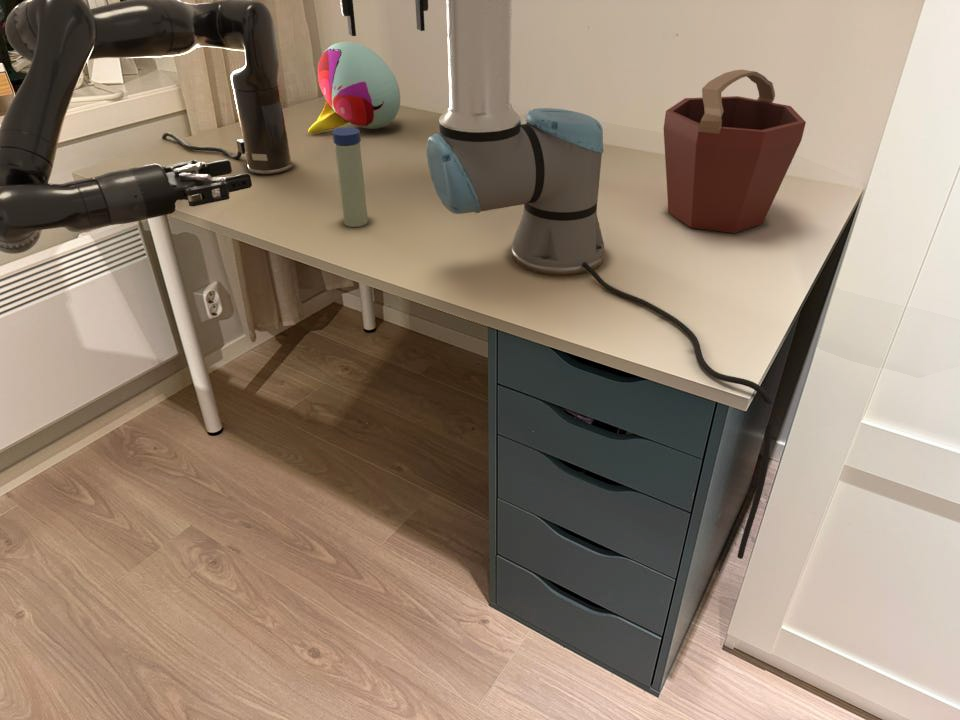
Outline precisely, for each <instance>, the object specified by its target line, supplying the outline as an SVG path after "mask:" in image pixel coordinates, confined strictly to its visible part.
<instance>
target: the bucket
mask: <svg viewBox="0 0 960 720" xmlns="http://www.w3.org/2000/svg"><path fill="white" fill-rule="evenodd" d="M746 77H747V78H748V79H749V80H750V81H751V82H752V83H754V84H755V85H756V88H757V91H758V98H757V99H754V98H750V97H744V96H739V95H736V96H733V95H732V96H731V95H730V96H722V92H724V91H725V90H726V89H727V88H728V87H729V86H730V85H732V84H734V83H735V82H737V81H738V80H740V79H743V78H746ZM701 96H702V97H685V98H683V99H682V100H680V101H679V102H677V103H676V104H674V105H672V106H670V107H669V108H668V109H667V110H665V115H664V122H663V143H664V156H665V157H664V159H665V161H664V162H665V177H666V179H665V180H666V192H667V193H666V194H667V196H666V197H667V212H668V214H670V215H671V216H672V217H674V218H676V219H677V220H679V221H680V222H681V223H683V224H684V225H686V226H687V227H689V228H691V229H698V230H707V231H715V232H721V233H732V234H735V233H739V232H742V231H745V230H749V229H751V228H754V227H757V226H760V225H762V224H764V222H765V219H766V218H767V215H768V213H769V211H770V209H771V207H772V205H773V202H774V201H775V198H776V196H777V195H778V192H779V189H780V187H781V185H782V183H783V181H784V179H785V177H786V175H787V173H788V170H789V168H790V167H791V164H792V162H793V159H794V158H795V155H796V153H797V151H798V150H799V149H798V148H799V147H800V145H801V142H802V139H803V135H804V132H805V128H806V125H807V124H806V120H805V119H804V118H803V117H802V116H801V115H800V114H799V113H798V112H797V111H796V110H795V109H794V108H793V107H792V106H791V105H787V104H781V103H776V102H774V101H775V98H776V92H775V88H774V83H773V82H772V81H771V80H769V79H768V78H767V77H766V76H765V75H763V74H761V73H760V72H758V71H755V70H748V69H735V70H732V71H727V72H724V73H722V74H720V75H717V76H716V77H714V78H713V79H711V80H709V81H708V82H707V83H706V84H705V85H704V86H703V87H702V88H701Z"/></svg>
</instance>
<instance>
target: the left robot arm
mask: <svg viewBox="0 0 960 720" xmlns="http://www.w3.org/2000/svg"><path fill="white" fill-rule="evenodd" d="M4 29H5V35H6V39H7V41H8V43H9V44H10V46H11V48H13V50H14V52H15V53H18V55H20V56H21V57H22V58H24V59H25V60H26V61H29V62H31V63H30V66H29V68H28V71H27V73H26V75H25V77H24V79H23V81H22V83H21V85H20V86H19V88H18V90H17V91H16V93H15V95H14V97H13V99H12V100H11V102H10V104H9V106H8V108H7V110H6V111H5V114H4V116H3V118H2V121H1V123H0V252H2V253H5V254H9V255H15V254H16V255H17V254H22V253H25V252H27V251H29V250H31V249H32V248H33V247H34V246H35V245H36V244H38V242H39V240H40V238H41V235H42V231H43V230H51V229H60V228H65V229H66V230H67V231H69V232H73V233H83V232H87V231H93V230H96V229H101V228H105V227H110V226H115V225H124V224H125V225H126V224H131V223H135V222H140V221H144V220H149V219H153V218H158V217H162V216H166V215H171V214H173V213H174V212H175V211H176V204H177V202H178V201H183V200H184V201H187V202H188V206H189V207H192V208H193V207H199V206H202V205H208V204H212V203H218V202H222V201H223V202H224V201H228V200H229V199H230V193H233V192H239V191H243V190H247V189H251V188H252V186H253V183H252V177H251V175H250V174H249V173H248V172H244V173H239V174H233V175H231V174H232V173H233V172H232V171H233V170H232V164H231V161H230V160H229V159H226V158H225V159H221V160H214V161H209V162H206V163H205V162H204V161H199V162H198V160H196V159H191V160H186V161H182V162H177V163H173V164H169V165H163V166H162V165H160V164H159V163H151V164H145V165H141V166H136V167H130V168H125V169H119V170H115V171H109V172H107V173H104V174H100V175H97V176H93V177H88V178H82V179H77V180H71V181H68V182H63V183H49V182H50V178H51V175H52V171H53V168H54V164H55V159H56V156H57V155H56V154H57V150H58V146H59V141H60V136H61V132H62V129H63V126H64V122H65V118H66V115H67V112H68V109H69V106H70V104H71V102H72V101H71V100H72V98H73V95H74V92H75V90H76V88H77V86H78V83H79V80H80V78H81V75H82V73H83V70H84V69H85V66H86V64H87V62H88V61H91V60H97V59H135V58H136V59H138V58H139V59H140V58H164V57H176V56H181V55H185V54H188V53H190V52H192V51H193V50H195V49H196V48H201V47H203V48H204V47H208V48H217V49H225V50H229V51H237V52H238V51H239V52H244V56H245V65H244V66H243V67H241V68H239V69H236V70H234V71H232V73H231V74H230V81H231V86H232V90H233V95H234V101H235V105H236V110H237V117H238V121H239V126H240V131H241V137H242V138H239V139H236V140H235V142H236V146H237V153H236V154H235V155H233V154H232V153H231V152H229V151H228V150H226V149H224V148H222V147H217V146H198V145H192V144H189V143H187V142H186V141H185V140H184V139H182V138H180V137H178V136H177V135H175V134H174V133H171V132H166V131H165V132H164V133H162V136H161V139H163V140H164V139H167V137H169V138H172V139H173V140H175V141H176V142H179V143H180V144H181V145H182V146H183V147H185V149H188V150H192V151H199V152H218V153H221V154H224V155H225V156H226V157H229V158H230V159H233V160H239V159H240V158H242V155H245V158H246V162H247V170H248V171H249V172H250V173H252V174H255V175H275V174H279V173H283V172H286V171H289V170H290V169H291V168H293V162H292V158H291V153H290V146H289V139H288V134H287V127H286V121H285V115H284V108H283V102H282V96H281V91H280V85H279V70H280V63H279V56H278V55H279V54H278V45H277V35H276V27H275V23H274V19H273V16H272V13H271V11H270V9H269V8H268V7H267V5H266V4H265V3H264V2H261V1H257V0H217V1H211V2H204V3H188V2H184V1H183V0H121V1H116V2H112V3H108V4H105V5H102V6H101V5H100V6H97V7H93V8H90V7H89V5H88V3H86V2H85V1H84V0H23V1H22V2H20V3H18V4H17V5H16V6H14V8H13V9H12V10H11V11H10V13H9V14H8V15H7V18H6V21H5V26H4ZM225 175H229V176H225ZM220 176H225V177H220Z"/></svg>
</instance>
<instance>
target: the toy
mask: <svg viewBox="0 0 960 720" xmlns="http://www.w3.org/2000/svg"><path fill="white" fill-rule="evenodd" d="M317 81H318V85H319V88H320V91H321V93H322V95H323V97H324V99H325V102H324V108H323V109H322V111H321V113H320V114H319V116H318V118H317V119H316V120H315V121H314V123H312V124H311V126H310V127H309V128H308V129H307V132H308V134H318V133H322V132H325V131H329V130H333V129H337V128H340V127H342V126H345V125H347V124H351V125H353V126H356V127H358V128H361V129H366V130H378V129H382V128H384V127H386V126H388V125H390V124H391V123H392V122H393V121H394V120H395V118H396V117H397V115H398V113H399V111H400V107H401V91H400V86H399V84H398V80H397V78H396V76H395V74H394V72H393V71H392V69H391V67H390V66H389V65H388V64H387V62H386V61H385V60H384V59H383V58H382V57H381V56H380V55H379V54H378V53H376V52H375V51H374V50H372V49H370V48H369V47H367V46H365V45H362V44H360V43H357V42H353V41H352V42H351V41H341V42H337V43H336V42H335V43H334V44H332V45H330V46H329V47H327V48H326V49H325V50H324V51H323V52H322V54H321V56H320V58H319V61H318V64H317Z"/></svg>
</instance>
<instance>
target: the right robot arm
mask: <svg viewBox="0 0 960 720" xmlns="http://www.w3.org/2000/svg"><path fill="white" fill-rule="evenodd" d="M414 2H415V22H416V30H418V31H420V32H425V31H426V29H425V27H426V26H425V12H428V10H429V0H414ZM339 4H340V12H341V16H343V17H346V19H347V28H348V29H347V30H348V35H350V36H351V37H357V31H356V20H355V12H354V0H339ZM445 5H446V6H445V7H446V37H447V71H448V73H447V74H448V99H449V100H448V101H449V102H448V103H449V104H448V107H447V108H446V110H445V111H444V112H443V113H441V115H440V117H439V119H438V121H439V123H438V124H439V126H438V127H439V133H433V134H432V135H430V136H429V137H428V138H427V141H426V144H427V145H426V159H427V166H428V170H429V174H430V177H431V181H432V184H433V187H434V189H435V192H436V195H437V196H438V199H439V200H440V202H441V204H442V205H443V206H444V207H445V208H446V210H447V211H448V212H449V213H453V214H456V215H462V214H471V213H474V214H480V213H482V212H487V211H493V210H499V209H504V208H505V209H506V208H509V207H515V206H520V205H523V212H522V215H521V218H520V220H519V224H518V226H517V229H516V232H515V234H514V237H513V240H512V245H511V257H512V259H513V261H514V262H515V263H516V264H517V265H519V267H521V268H524V269H526V270H528V271H530V272H532V273H533V272H534V273H537V274H541V275H547V276H558V277H559V276H560V277H561V276H573V275H574V276H575V275H580V274H584V273H589V274H590V275H591V276H592V277H593V278H594V279H595V280H596V281H597V283H598V284H599V285H600V286H602V288H604V289H605V290H607V291H609V292H610V293H612V294H614V295H616V296H618V297H621V298H623V299H626V300H628V301H632V302H634V303H636V304H639V305H640V306H641V305H642V306H643V307H645V308H647V309H649V310H651V311H653V312H655V313H656V314H658V315H659V316H662V317H663V318H665V319H667V320H668V321H670V322H671V323H673V324H674V325H676V326H677V327H678V328H679V329H680V330H682V332H684V333H685V334H686V336H687V337H689V339H690V341H691V342H692V345H693V347H694V352H695V357H696V360H697V362H698V365H699V366H700V368H702V370H704V372H706V373H707V374H708V375H709V376H711V377H712V378H714V379H717V380H719V381H722V382H725V383H731V384H737V385H740V386H744V387H748V388H749V389H752V390H754V391H755V392H757V393H758V394H759V396H761V398H762V399H763V401H764V402H765V403H766V404H768V405H772V404H774V403H773V400H772V398H771V396H770V395H769V393H768V392H767V391H766V390H765V389H764V388H763V387H762V386H761V385H759V383H756V382H754V381H752V380H749V379H746V378H743V377H742V378H741V377H737V376H732V375H727V374H723V373H720V372H719V371H716V370H714V369H713V368H712V367H711V366H710V365H708V363H707V361H706V360H705V358H704V355H703V353H702V348H701V344H700V341H699V339H698V338H697V336H696V334H695V333H694V332H693V331H692V330H691V329H690V327H688V326H687V325H685V324H684V323H683V322H682V321H681V320H679V319H678V318H676V317H675V316H673V315H671V314H670V313H668V312H667V311H666V310H663V309H662V308H660V307H658V306H656V305H654V304H653V303H651V302H649V301H647V300H645V299H642V298H640V297H637V296H636V295H632V294H629V293H627V292H624V291H621V290H619V289H617V288H615V287H613V286H612V285H610V284H608V282H606V281H604V279H603V278H602V277H601V276H600V275H599V274H598V273H597V271H596V270H595V269H596V268H598V267H599V266H600V265H601V264H602V263H603V261H604V258H605V242H604V239H603V233H602V230H601V226H600V222H599V218H598V213H597V212H598V199H599V188H600V179H601V178H600V177H601V167H602V159H603V156H602V155H603V154H604V129H603V126H602V124H601V123H600V121H598V119H596V118H595V117H592V116H590V115H589V114H585V113H582V112H578V111H574V110H568V109H563V108H562V109H561V108H553V107H552V108H551V107H548V108H547V107H538V108H534V109H531V110H529V111H528V112H527V113H526V115H525V118H524V119H525V123H523V124H522V123H521V115H519V113H517V112H516V111H515V109H514V108H513V106H512V104H511V82H512V81H511V80H512V79H511V77H512V75H511V73H512V72H511V71H512V17H513V16H512V15H513V14H512V13H513V11H512V10H513V9H512V7H513V0H445ZM510 104H511V105H510ZM511 106H512V107H511ZM773 428H774V421H773V422H771V423H769V424H767V425H765V429H764V437H763V438H764V439H763V448H762V456H761V465H760V469H759V476H758V481H757V484H756V489H755V492H754V497H753V501H752V503H751V507H750V510H749V513H748V517H747V520H746V523H745V527H744V530H743V533H742V537H741V540H740V543H739V548H738V552H737V555H736V556H737V559H739V560H742V559H743V558H744V555H745V552H746V548H747V544H748V541H749V537H750V534H751V531H752V527H753V524H754V521H755V518H756V516H757V515H756V514H757V511H758V509H759V505H760V502H761V499H762V495H763V491H764V486H765V483H766V479H767V478H766V477H767V471H768V468H769V467H768V466H769V459H770V454H771V453H770V452H771V445H772V444H771V443H772V434H773Z"/></svg>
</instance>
